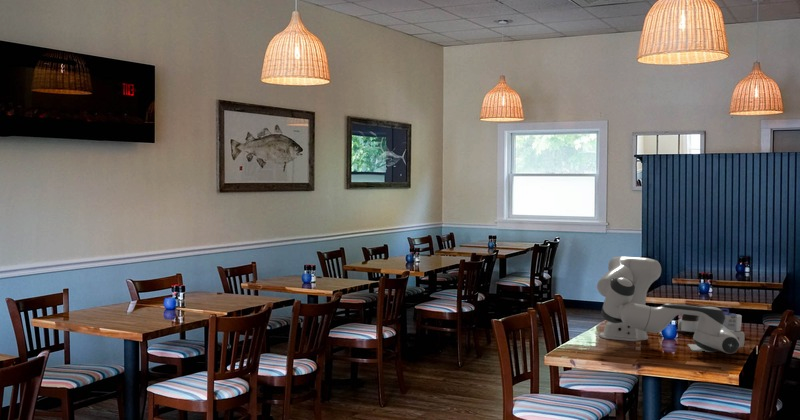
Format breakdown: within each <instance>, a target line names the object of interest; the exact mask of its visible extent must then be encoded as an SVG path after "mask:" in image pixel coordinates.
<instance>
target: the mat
mask: <svg viewBox="0 0 800 420" xmlns="http://www.w3.org/2000/svg"><path fill="white" fill-rule="evenodd" d="M687 347H688V348H689V347H690V348H689V349H690V350H691V351H692V352H702V351H705V352H707V353H712V352H711V351H707V350H704V349H702V348H700V347H698V346H697V345H696V344H695V343H694V344H693V343H688V344H687Z"/></svg>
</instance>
